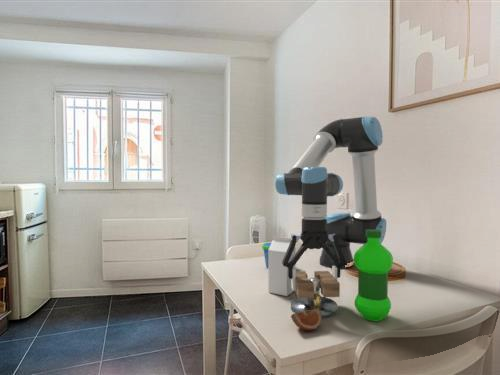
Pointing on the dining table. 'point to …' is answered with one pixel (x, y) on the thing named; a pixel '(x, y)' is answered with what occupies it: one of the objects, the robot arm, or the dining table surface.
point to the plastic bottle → (373, 277)
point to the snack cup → (266, 252)
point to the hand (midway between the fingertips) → (314, 288)
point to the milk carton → (279, 267)
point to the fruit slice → (307, 319)
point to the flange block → (306, 287)
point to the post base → (324, 310)
